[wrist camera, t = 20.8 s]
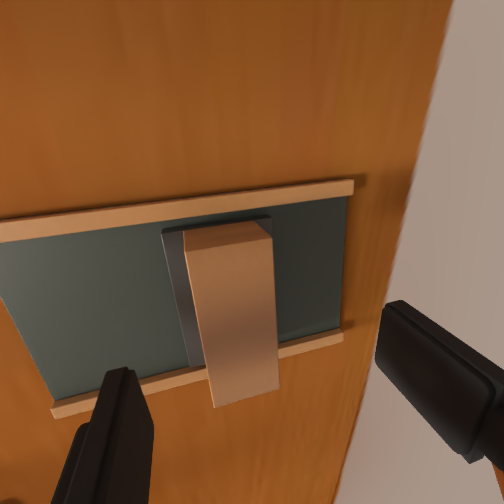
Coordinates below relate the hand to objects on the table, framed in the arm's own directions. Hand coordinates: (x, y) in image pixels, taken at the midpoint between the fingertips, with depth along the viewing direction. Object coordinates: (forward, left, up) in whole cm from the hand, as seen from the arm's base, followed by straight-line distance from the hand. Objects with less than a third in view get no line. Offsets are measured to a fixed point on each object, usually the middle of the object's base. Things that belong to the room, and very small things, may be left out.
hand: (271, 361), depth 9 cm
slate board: (+4, -2, -12) cm, 13 cm away
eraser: (+4, 0, -12) cm, 12 cm away
